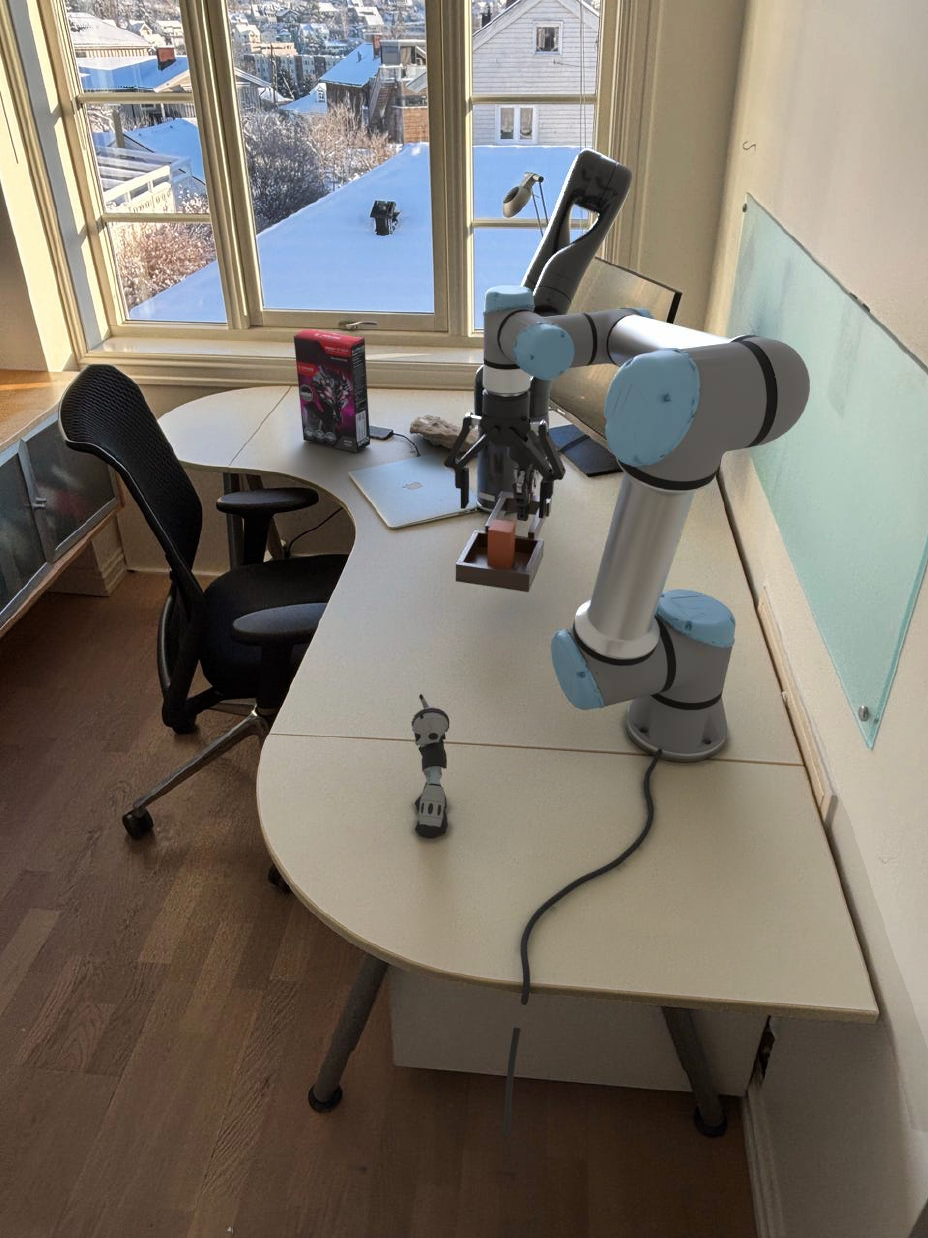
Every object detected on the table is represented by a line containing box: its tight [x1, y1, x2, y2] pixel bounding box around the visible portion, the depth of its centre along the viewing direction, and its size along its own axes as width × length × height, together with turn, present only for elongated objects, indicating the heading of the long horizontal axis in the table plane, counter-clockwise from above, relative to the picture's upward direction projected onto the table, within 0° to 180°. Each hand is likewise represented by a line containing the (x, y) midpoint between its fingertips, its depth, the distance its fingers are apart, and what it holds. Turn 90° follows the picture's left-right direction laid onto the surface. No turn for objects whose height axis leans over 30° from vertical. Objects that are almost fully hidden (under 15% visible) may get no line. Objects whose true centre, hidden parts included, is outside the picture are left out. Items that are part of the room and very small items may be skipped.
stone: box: [409, 414, 478, 457], centre depth 232 cm, size 21×15×6 cm
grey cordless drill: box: [410, 693, 450, 839], centre depth 122 cm, size 20×5×20 cm, turn 3°
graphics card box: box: [293, 328, 371, 453], centre depth 227 cm, size 17×7×27 cm, turn 62°
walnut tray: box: [455, 491, 553, 593], centre depth 169 cm, size 28×13×4 cm, turn 165°
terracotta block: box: [487, 519, 517, 569], centre depth 162 cm, size 4×4×8 cm
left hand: (524, 516), depth 180 cm, fingers closed on walnut tray, 2 cm apart
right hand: (503, 510), depth 158 cm, fingers open, 13 cm apart
